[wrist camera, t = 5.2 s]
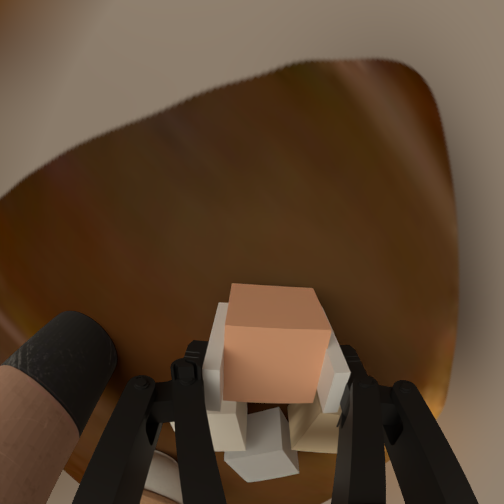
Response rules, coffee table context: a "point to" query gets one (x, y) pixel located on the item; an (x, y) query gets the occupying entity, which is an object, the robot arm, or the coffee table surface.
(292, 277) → the coffee table surface
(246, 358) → the cube terracotta
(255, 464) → the cube grey
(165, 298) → the coffee table surface
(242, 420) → the cube cream
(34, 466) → the travel mug
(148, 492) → the lidded jar
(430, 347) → the coffee table surface
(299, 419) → the cube maple
